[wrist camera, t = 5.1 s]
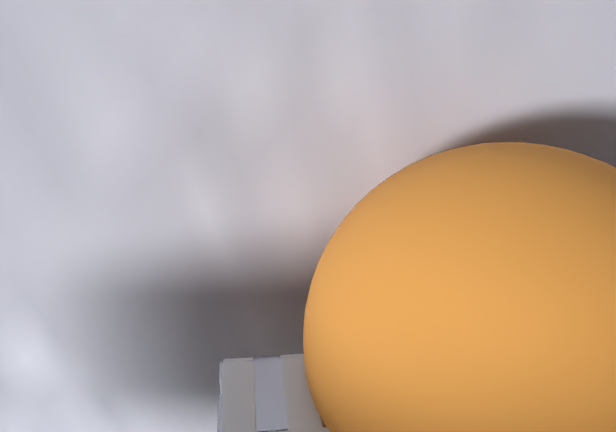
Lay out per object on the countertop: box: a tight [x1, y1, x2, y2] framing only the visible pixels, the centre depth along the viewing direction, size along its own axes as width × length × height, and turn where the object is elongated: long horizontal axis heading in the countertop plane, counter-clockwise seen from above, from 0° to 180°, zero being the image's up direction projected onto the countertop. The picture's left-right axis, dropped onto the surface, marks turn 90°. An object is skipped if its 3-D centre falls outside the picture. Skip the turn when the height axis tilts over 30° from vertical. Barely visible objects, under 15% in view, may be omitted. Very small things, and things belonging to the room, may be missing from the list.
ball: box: [303, 142, 616, 432], centre depth 8 cm, size 6×6×6 cm
